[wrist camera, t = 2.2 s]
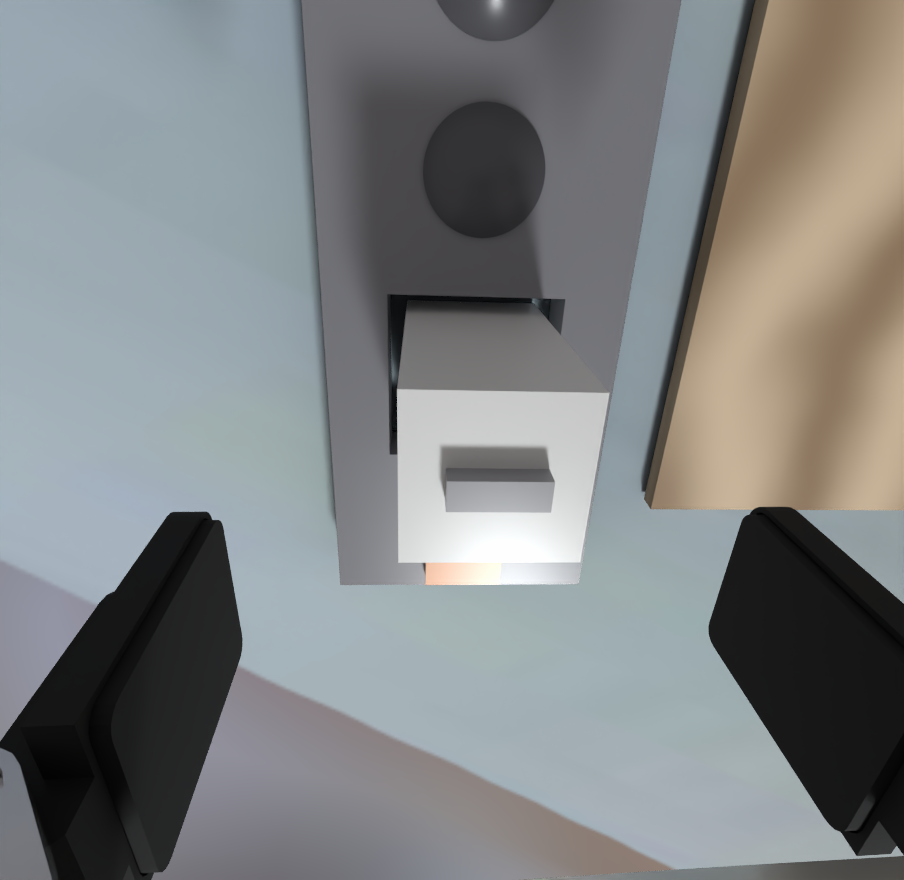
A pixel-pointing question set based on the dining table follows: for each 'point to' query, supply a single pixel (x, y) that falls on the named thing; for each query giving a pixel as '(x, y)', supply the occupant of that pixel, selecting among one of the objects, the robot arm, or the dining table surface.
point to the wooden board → (798, 277)
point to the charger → (493, 436)
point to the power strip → (470, 206)
